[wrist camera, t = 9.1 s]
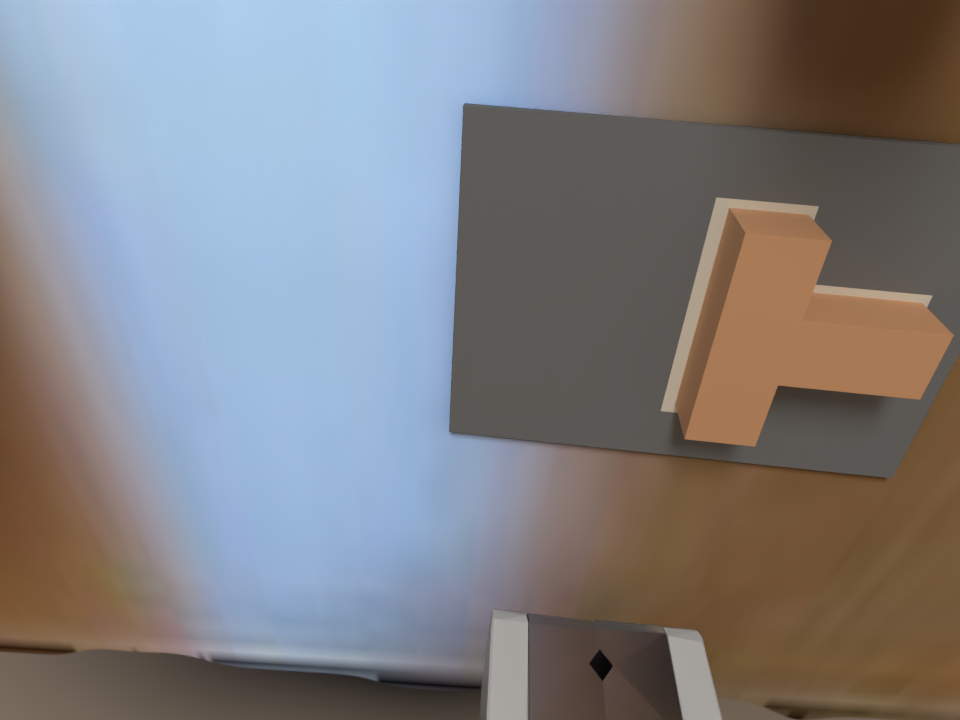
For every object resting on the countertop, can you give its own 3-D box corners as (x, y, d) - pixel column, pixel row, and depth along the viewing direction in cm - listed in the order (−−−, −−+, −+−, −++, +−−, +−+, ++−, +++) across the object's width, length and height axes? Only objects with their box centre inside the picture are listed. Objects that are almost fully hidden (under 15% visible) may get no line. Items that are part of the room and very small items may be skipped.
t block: (675, 403, 36) (684, 439, 33) (729, 207, 30) (745, 233, 27) (864, 423, 35) (888, 460, 33) (957, 228, 29) (995, 255, 27)
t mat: (450, 426, 39) (449, 431, 38) (464, 103, 29) (463, 105, 28) (888, 472, 38) (892, 478, 37) (1057, 152, 28) (1065, 155, 27)
